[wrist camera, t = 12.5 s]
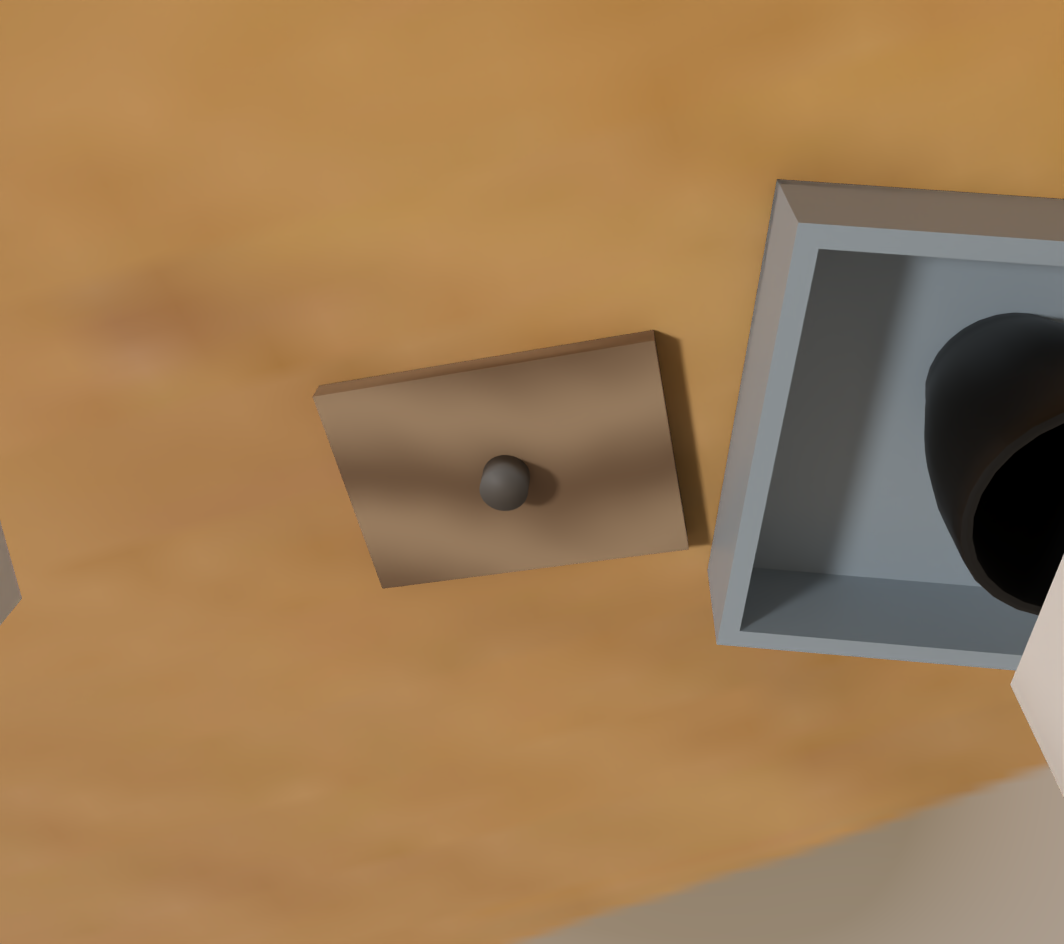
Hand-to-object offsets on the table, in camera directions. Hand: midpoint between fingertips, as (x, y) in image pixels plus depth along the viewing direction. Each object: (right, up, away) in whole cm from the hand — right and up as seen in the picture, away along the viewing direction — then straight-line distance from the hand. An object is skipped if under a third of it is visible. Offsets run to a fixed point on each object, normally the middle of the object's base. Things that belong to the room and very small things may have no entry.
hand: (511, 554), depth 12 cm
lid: (-1, +1, +31) cm, 31 cm away
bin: (+18, +3, +28) cm, 34 cm away
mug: (+19, +3, +27) cm, 33 cm away
